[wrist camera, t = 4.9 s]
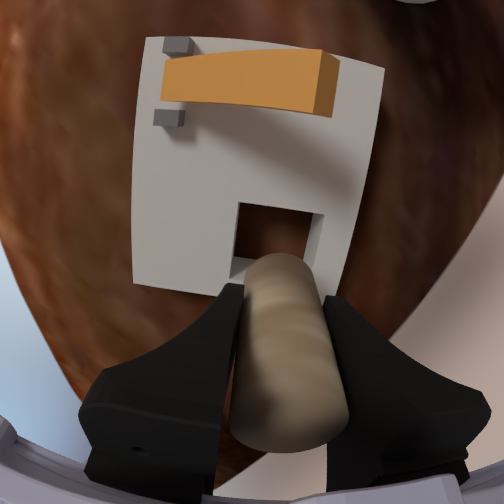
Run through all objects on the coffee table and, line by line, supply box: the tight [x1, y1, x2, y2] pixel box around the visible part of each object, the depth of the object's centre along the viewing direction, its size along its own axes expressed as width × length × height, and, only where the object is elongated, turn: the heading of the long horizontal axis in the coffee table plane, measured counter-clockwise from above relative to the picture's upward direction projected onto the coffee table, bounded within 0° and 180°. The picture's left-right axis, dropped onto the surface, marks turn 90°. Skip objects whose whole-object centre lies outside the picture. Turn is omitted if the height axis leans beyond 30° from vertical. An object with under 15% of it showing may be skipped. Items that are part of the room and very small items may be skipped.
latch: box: [160, 49, 340, 118], centre depth 11 cm, size 2×8×1 cm
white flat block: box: [131, 37, 385, 306], centre depth 16 cm, size 14×12×4 cm
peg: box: [228, 253, 349, 453], centre depth 10 cm, size 3×3×7 cm
